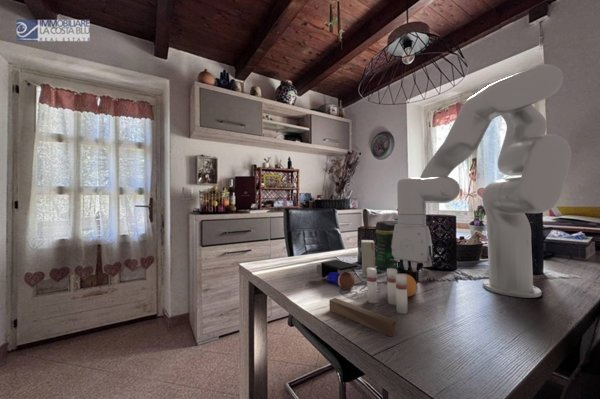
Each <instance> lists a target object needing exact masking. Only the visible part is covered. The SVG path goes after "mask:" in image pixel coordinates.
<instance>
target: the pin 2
mask: <svg viewBox="0 0 600 399" xmlns="http://www.w3.org/2000/svg"><path fill="white" fill-rule="evenodd" d="M405 274H406V273H397V274H396V305H395V306H396V312H397V313H399V314H403V315H405V314H408V313H409V312H408V311H409V310H408V309H409V308H408V306H409V305H408V297H407V275H405Z"/></svg>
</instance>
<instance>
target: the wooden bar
mask: <svg viewBox="0 0 600 399" xmlns="http://www.w3.org/2000/svg"><path fill="white" fill-rule="evenodd" d="M328 305H329V311H330V312H333V313H335V314H337V315H340V316H341V317H344V318H346V319H349V320H352V321H354V322H356V323H358V324H360V325H363V326H365V327H367V328H369V329H372V330H375V331H376V332H379V333H382V334H383V335H387V336H389V337H391V338H392V337H393V336H395V335H396V334H397V320H396V319H393V318H391V317H388V316H386V315H384V314H380V313H377V312H375V311H372V310H369V309H367V308H363V307H361V306H359V305H355V304H353V303H350V302H348V301H344V300H342V299H339V298H336V297H333V298H331V299H329V304H328Z"/></svg>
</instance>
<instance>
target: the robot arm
mask: <svg viewBox="0 0 600 399" xmlns="http://www.w3.org/2000/svg"><path fill="white" fill-rule="evenodd" d="M563 73H564V72H563V71H562V70H561V69H560V68H559V67H557V66H556V65H553V64H550V63H547V64H538V65H535V66H532V67H530V68H528V69H525V70H523V71H520V72H518V73H515V74H512V75H510V76H508V77H505V78H502V79H499V80H498V81H497V80H496V81H495V82H493V83H491V84H489V85H487V86H486V87H484V88H482V89H481V90H480V91H478V92H477V93H474V94H473V95H472V96H469V98H467V100H465V102H464V103H463V104H462V106H461V108H460V110H459V112H458V114H457V116H456V118H455V119H454V122H453V123H452V125H451V128H450V129H449V132H448V134H447V136H446V137H445V140H444V141H443V143H442V144H441V146H439V147H438V149H437V151H436V152H435V153H434V154H433V156H432V157H431V159H430V160H429V161H428V163H427V164H426V166H425V167H424V169H423V171H422V173H421V174H420V177H405V178H401V179H398V181H397V190H396V192H397V194H396V195H397V197H396V198H397V214H396V215H394V216H393V219H394V220H393V221H397V223H398V224H397V225H395V227H394V232H393V239H392V256H393V257H394V260H395V261H398V262H400V263H401V264H402V265H403V267H402V268H403V270H405V274H408V275H410V276H412V277H413V278H414V280H415V281H416V284H418V283H419V279H420V276H419V273H420V272H419V271H421V269H422V268H430V267H432V266H433V262H432V259H433V243H432V242H433V241H432V236H431V231H430V227H429V225H427V204H447V203H450V202H453V201H454V200H455V199H456V198H457V197H458V196H459V195H460V192H461V186H460V184H459V182H458V181H457V180H456V179H454V178H453V177H449V175H450V174H451V173H452V172H453V171H454V170H455V169H456V168H457V167H458V166H460V165H461V164H462V163H463V162H465V161H467V159H469V158H470V157H471V156H472V155H474V153H476V151H477V150H478V149H479V146H480V144H481V142H482V140H483V138H484V136H485V134H486V132H487V130H488V128H489V126H490V124H491V122H492V121H493V120H494V119H496V118H498V117H501V118H502V119H503V120H504V122H505V124H506V131H505V135H504V138H503V142H502V145H501V148H500V152H499V156H498V161H497V168H498V170H499V172H500V173H501V174H504V175H507V176H513V177H509V178H503V179H497V180H494V181H492V182H490V183H488V184H487V185H486V186H485V188H483V191H482V195H481V198H482V199H481V200H482V205H483V209H484V212H485V217H486V228H487V230H486V231H487V256H488V257H487V259H488V279H486V280H485V279H484V280H483V281H482V287H483V288H484V289H486V290H488V291H490V292H493V293H496V294H500V295H503V296H508V297H509V296H510V297H514V298H515V297H516V298H525V299H533V298H539V297H541V296H542V290H541V289H540V288H539V287H537V286H535V285H534V277H533V276H534V273H533V254H532V252H533V251H532V228H531V224H530V222H529V219H528V217H527V215H526V214H541V213H545V212H549V211H550V210H552V209H553V208H554V207H555V206H556V205H557V204H558V202H559V200H560V198H561V195H562V193H563V192H562V191H563V188H564V185H565V182H566V179H567V175H568V172H569V168H570V166H571V162H572V149H571V147H570V146H571V145H570V144H569V142H568V140H566V139H565V138H564V137H563V136H560V135H558V134H554V133H546V132H547V125H548V124H547V123H548V122H547V120H546V118H545V117H544V115H543V114H542V113H541V112H540V111H539V110H538V109H537V108H536V107H534V104H537V103H538V102H541V101H544V100H545V99H548V98H549V97H551V96H553V95H554V94H555V93H557V92H558V91H559V90H560V88H561V87H562V85H563V83H564V74H563ZM515 176H517V177H515ZM518 176H520V177H518Z"/></svg>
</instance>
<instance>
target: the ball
mask: <svg viewBox="0 0 600 399" xmlns="http://www.w3.org/2000/svg"><path fill="white" fill-rule="evenodd" d="M404 274H405V275H407V298H409V297H412V296H413V295H415V293H416V292H417V288H418V285H417V284H418V283H417V284H416V281H415V280H414V278H413V277H412V276H410V275H408V274H406V273H404Z"/></svg>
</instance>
